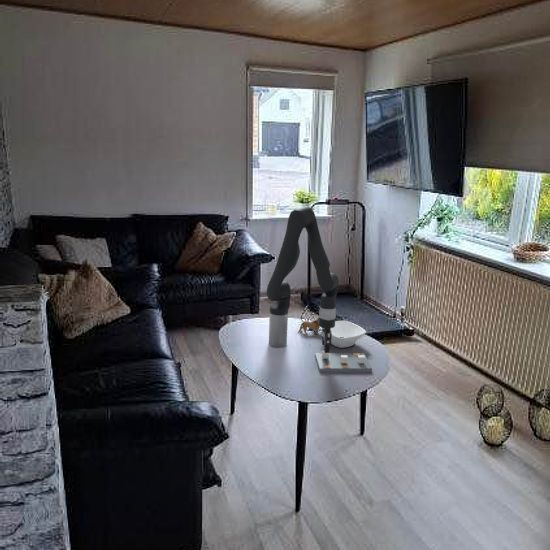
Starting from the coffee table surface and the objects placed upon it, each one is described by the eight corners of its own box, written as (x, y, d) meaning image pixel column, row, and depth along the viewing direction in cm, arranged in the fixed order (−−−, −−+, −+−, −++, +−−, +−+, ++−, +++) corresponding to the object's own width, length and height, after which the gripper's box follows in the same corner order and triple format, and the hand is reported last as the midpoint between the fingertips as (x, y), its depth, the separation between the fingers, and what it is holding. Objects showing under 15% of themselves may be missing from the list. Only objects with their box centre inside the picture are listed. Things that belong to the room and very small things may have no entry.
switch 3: (357, 360, 232) (357, 355, 231) (363, 360, 232) (363, 355, 231) (358, 363, 229) (358, 357, 229) (364, 363, 230) (365, 357, 229)
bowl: (343, 333, 269) (344, 318, 267) (370, 347, 253) (371, 332, 250) (313, 340, 258) (314, 325, 256) (338, 356, 242) (339, 340, 239)
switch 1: (321, 356, 235) (321, 350, 235) (327, 356, 236) (328, 350, 235) (322, 358, 233) (322, 352, 232) (328, 358, 233) (329, 352, 232)
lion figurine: (321, 330, 273) (322, 314, 270) (325, 333, 268) (326, 318, 265) (296, 331, 269) (296, 316, 267) (298, 335, 264) (299, 320, 262)
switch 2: (340, 361, 231) (340, 355, 230) (346, 360, 231) (347, 355, 231) (341, 363, 229) (341, 357, 228) (347, 363, 229) (348, 357, 228)
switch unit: (314, 356, 240) (315, 352, 239) (363, 356, 242) (363, 352, 241) (319, 372, 225) (320, 368, 224) (371, 372, 226) (372, 367, 226)
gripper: (317, 311, 235) (315, 342, 239) (321, 321, 221) (319, 355, 225) (332, 311, 235) (331, 342, 239) (338, 321, 221) (336, 355, 226)
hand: (325, 348), depth 232 cm, fingers open, 8 cm apart
